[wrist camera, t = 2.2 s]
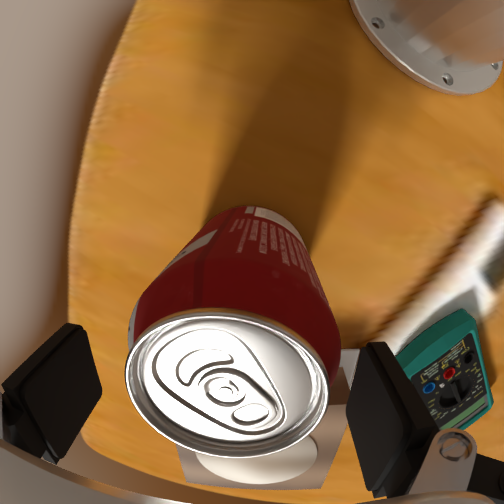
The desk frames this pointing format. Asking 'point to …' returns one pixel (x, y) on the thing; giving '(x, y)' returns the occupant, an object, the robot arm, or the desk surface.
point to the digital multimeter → (449, 371)
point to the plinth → (278, 455)
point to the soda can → (235, 340)
